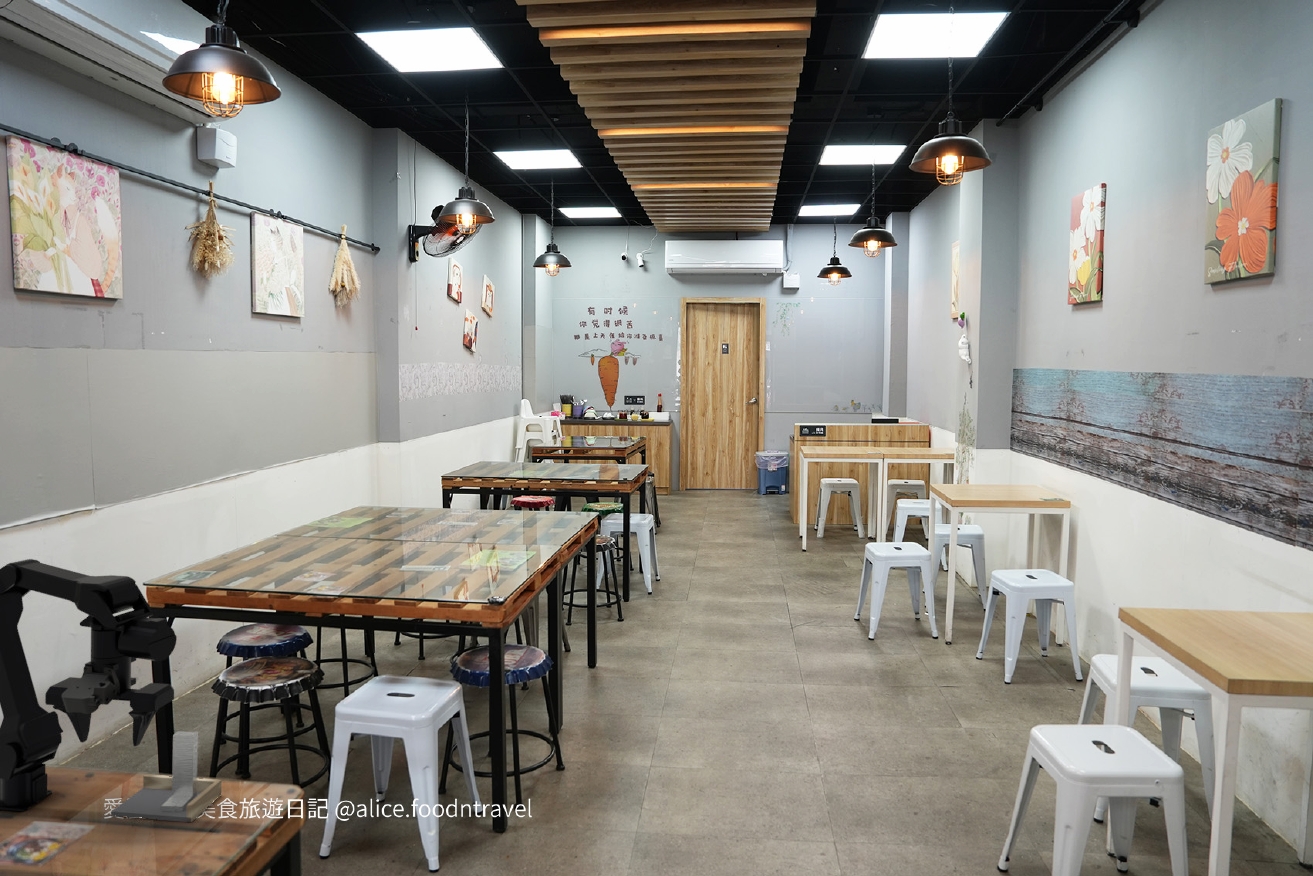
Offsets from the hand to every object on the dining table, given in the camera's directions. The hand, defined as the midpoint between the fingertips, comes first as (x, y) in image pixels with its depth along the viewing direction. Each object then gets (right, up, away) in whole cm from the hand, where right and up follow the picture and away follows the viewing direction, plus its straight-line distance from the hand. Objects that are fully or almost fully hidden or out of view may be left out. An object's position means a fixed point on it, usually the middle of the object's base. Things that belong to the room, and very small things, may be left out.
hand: (110, 743), depth 139 cm
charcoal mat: (+6, -13, +6) cm, 16 cm away
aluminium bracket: (+9, -12, +5) cm, 16 cm away
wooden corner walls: (+6, -13, +6) cm, 16 cm away
